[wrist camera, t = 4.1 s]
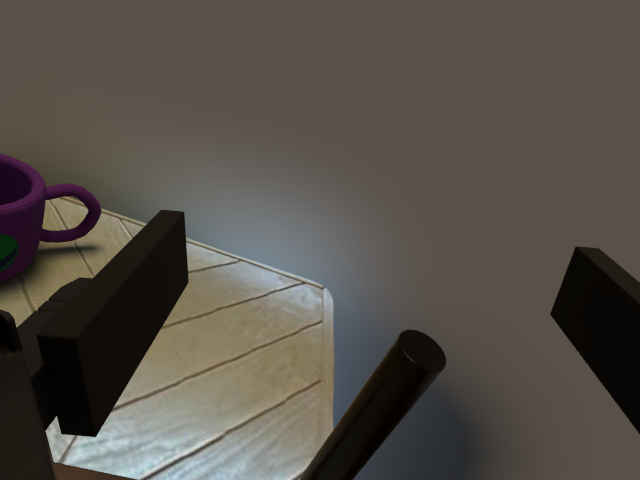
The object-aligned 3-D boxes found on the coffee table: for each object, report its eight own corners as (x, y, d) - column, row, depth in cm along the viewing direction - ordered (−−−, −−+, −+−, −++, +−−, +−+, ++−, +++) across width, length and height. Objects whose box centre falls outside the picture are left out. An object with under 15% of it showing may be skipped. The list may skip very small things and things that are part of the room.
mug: (-94, 305, 39) (-106, 215, 34) (-103, 229, 45) (-114, 143, 40) (110, 276, 51) (123, 206, 46) (82, 219, 57) (90, 152, 52)
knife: (299, 532, 34) (451, 341, 23) (297, 571, 32) (465, 381, 21) (250, 523, 34) (383, 319, 22) (245, 562, 31) (390, 358, 20)
